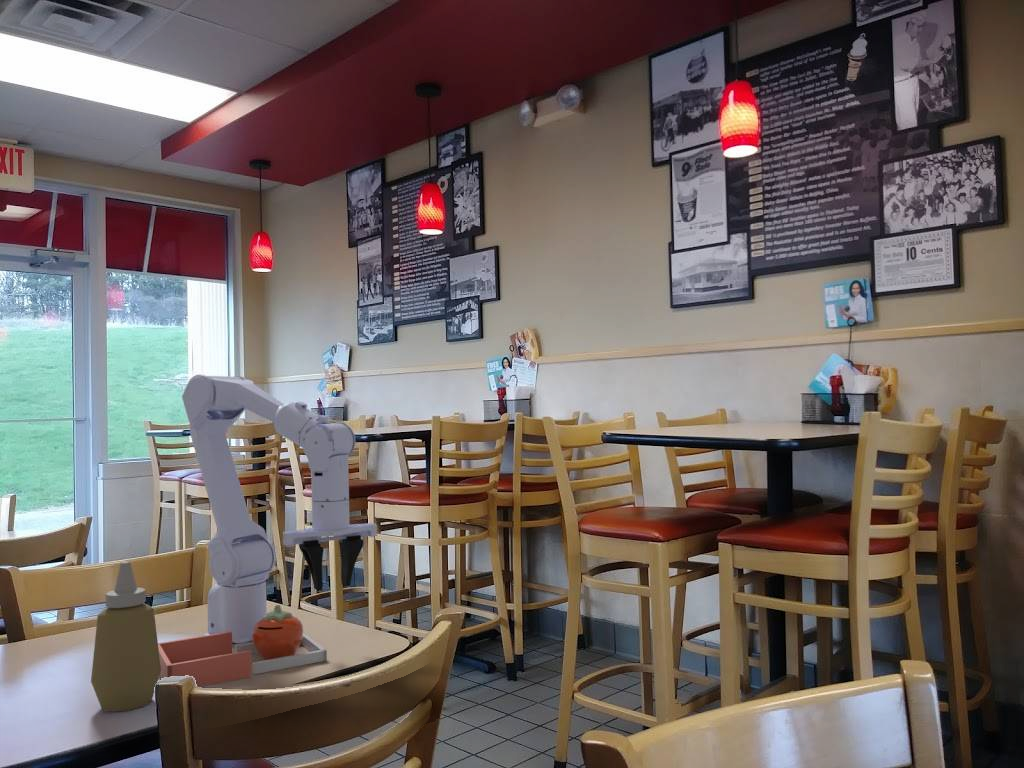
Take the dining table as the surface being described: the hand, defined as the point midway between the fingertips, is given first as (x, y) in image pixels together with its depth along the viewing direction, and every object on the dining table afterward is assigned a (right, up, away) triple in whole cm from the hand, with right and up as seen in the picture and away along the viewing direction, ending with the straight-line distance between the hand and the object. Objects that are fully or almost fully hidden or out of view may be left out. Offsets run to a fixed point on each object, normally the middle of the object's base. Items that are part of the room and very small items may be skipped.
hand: (332, 587), depth 124 cm
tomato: (-7, -10, -5) cm, 13 cm away
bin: (-16, -10, -10) cm, 21 cm away
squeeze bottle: (-21, -9, -23) cm, 32 cm away
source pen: (-7, -9, -5) cm, 13 cm away
